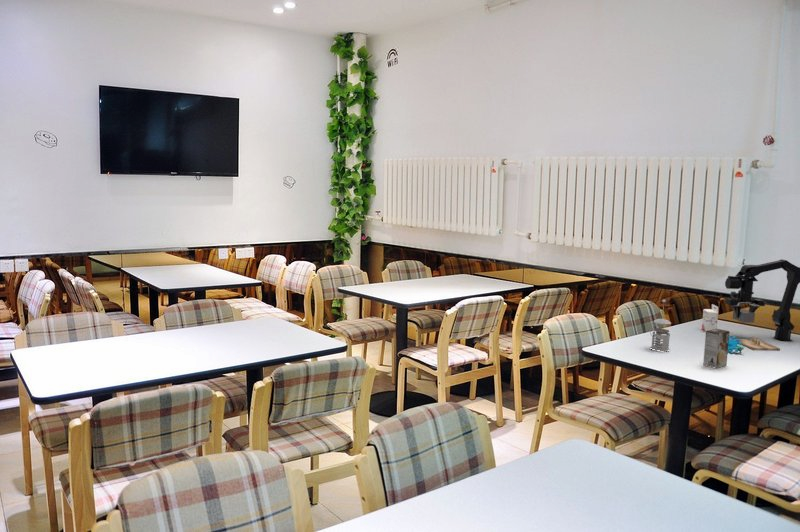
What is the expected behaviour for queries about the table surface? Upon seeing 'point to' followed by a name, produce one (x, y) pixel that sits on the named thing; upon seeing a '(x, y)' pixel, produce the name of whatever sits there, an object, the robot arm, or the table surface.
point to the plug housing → (744, 316)
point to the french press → (660, 334)
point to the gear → (734, 345)
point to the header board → (757, 344)
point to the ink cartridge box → (710, 318)
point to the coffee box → (716, 348)
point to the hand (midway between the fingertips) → (743, 318)
